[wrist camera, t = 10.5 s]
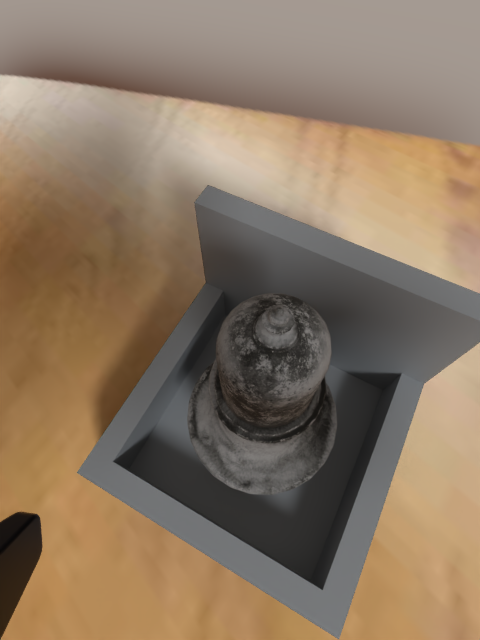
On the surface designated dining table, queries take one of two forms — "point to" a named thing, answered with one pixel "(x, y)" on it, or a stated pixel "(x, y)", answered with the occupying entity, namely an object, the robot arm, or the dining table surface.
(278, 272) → the shaker rack
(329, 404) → the salt shaker
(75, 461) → the dining table surface
